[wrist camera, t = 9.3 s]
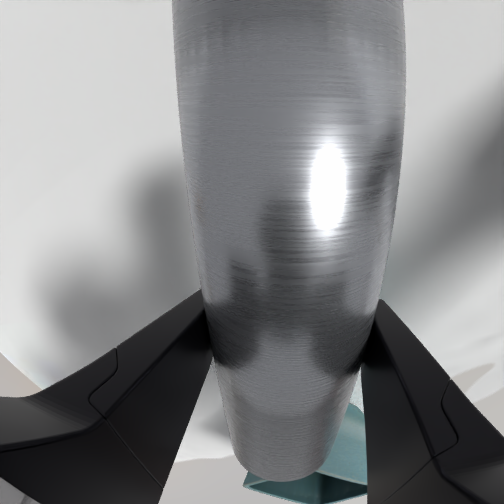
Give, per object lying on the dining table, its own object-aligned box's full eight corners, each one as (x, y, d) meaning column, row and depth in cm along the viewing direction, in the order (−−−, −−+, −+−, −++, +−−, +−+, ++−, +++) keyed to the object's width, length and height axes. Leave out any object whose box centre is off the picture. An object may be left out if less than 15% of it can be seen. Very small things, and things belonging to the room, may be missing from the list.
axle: (362, 10, 6) (443, -33, 2) (327, 396, 13) (338, 477, 9) (196, 9, 6) (136, -44, 2) (235, 399, 13) (229, 481, 10)
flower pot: (258, 408, 29) (239, 487, 22) (315, 368, 25) (304, 467, 17) (325, 435, 31) (317, 508, 23) (385, 402, 26) (388, 488, 18)
